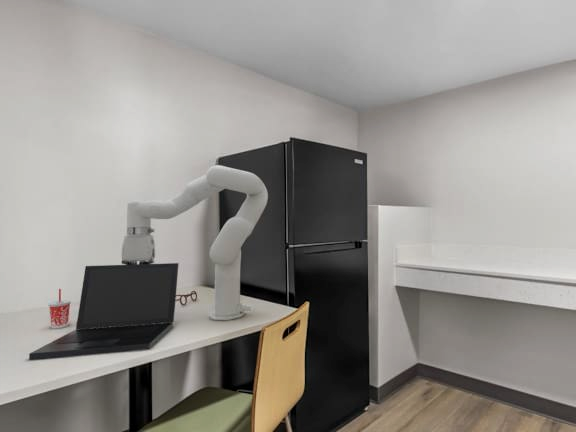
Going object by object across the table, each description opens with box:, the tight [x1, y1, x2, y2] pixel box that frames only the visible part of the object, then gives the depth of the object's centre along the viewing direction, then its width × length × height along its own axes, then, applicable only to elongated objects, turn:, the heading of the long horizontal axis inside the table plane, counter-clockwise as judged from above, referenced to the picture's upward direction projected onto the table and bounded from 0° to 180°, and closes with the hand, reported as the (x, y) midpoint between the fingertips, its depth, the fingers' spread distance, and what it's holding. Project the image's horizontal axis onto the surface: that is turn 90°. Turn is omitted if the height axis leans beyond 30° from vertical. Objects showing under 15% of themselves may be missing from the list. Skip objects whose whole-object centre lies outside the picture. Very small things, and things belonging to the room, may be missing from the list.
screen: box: [75, 262, 179, 330], centre depth 126 cm, size 22×30×1 cm
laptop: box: [28, 322, 174, 361], centre depth 112 cm, size 22×30×2 cm
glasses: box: [175, 290, 198, 306], centre depth 162 cm, size 13×13×5 cm
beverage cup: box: [48, 288, 72, 330], centre depth 128 cm, size 6×6×14 cm
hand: (137, 278), depth 133 cm, fingers closed
